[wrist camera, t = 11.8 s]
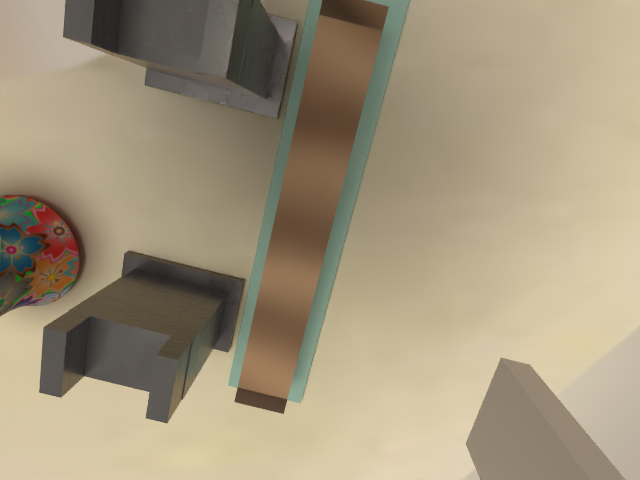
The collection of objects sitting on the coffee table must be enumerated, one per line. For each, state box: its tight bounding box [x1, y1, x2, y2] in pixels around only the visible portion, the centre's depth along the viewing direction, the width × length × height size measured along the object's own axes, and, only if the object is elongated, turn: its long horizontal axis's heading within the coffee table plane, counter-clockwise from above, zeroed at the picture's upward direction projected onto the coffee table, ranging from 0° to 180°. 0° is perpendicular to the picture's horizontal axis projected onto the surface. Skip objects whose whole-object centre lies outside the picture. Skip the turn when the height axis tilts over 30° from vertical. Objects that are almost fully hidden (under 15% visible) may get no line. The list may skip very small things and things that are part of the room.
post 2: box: [39, 251, 245, 423], centre depth 26 cm, size 6×9×10 cm, turn 76°
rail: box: [235, 0, 389, 414], centre depth 26 cm, size 26×4×4 cm, turn 166°
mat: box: [228, 0, 410, 403], centre depth 28 cm, size 30×6×1 cm, turn 166°
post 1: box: [63, 0, 298, 119], centre depth 21 cm, size 6×9×10 cm, turn 76°
